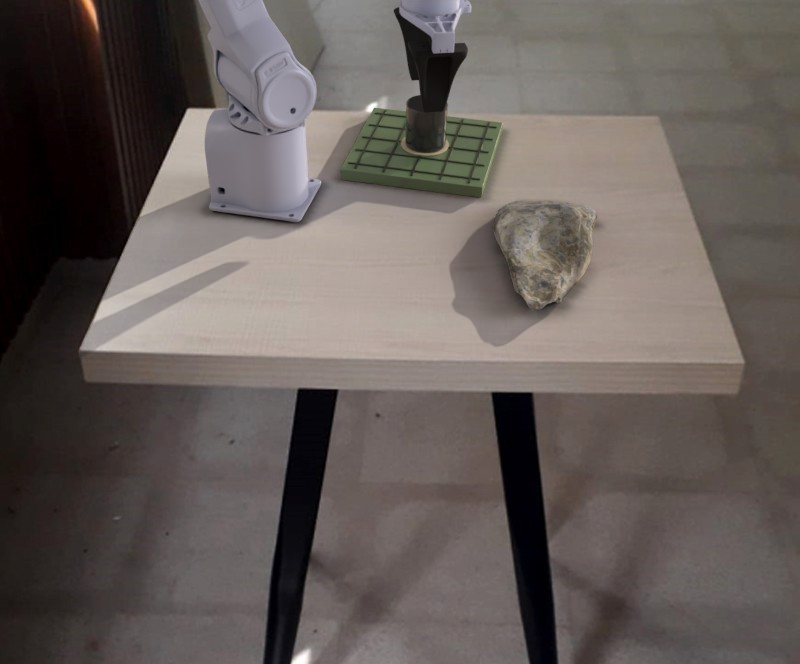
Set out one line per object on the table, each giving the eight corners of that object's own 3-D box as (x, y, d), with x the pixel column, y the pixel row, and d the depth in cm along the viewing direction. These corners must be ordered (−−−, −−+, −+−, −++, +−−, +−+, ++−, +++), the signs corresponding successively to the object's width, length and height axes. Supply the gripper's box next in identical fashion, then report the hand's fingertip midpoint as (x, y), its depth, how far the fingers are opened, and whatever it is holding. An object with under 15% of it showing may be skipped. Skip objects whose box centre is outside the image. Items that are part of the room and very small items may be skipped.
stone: (490, 335, 84) (605, 337, 84) (491, 305, 82) (610, 307, 81) (493, 204, 98) (592, 205, 97) (494, 174, 95) (595, 174, 94)
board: (340, 179, 100) (339, 167, 99) (373, 117, 111) (373, 106, 110) (481, 197, 98) (482, 186, 97) (502, 132, 109) (503, 121, 108)
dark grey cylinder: (406, 153, 102) (407, 112, 99) (404, 134, 105) (405, 94, 102) (447, 153, 102) (449, 112, 99) (444, 134, 105) (446, 94, 102)
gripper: (490, -18, 86) (479, 123, 95) (458, -68, 96) (450, 64, 106) (413, -15, 85) (409, 127, 94) (389, -66, 96) (387, 67, 105)
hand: (426, 94), depth 100 cm, fingers open, 7 cm apart
